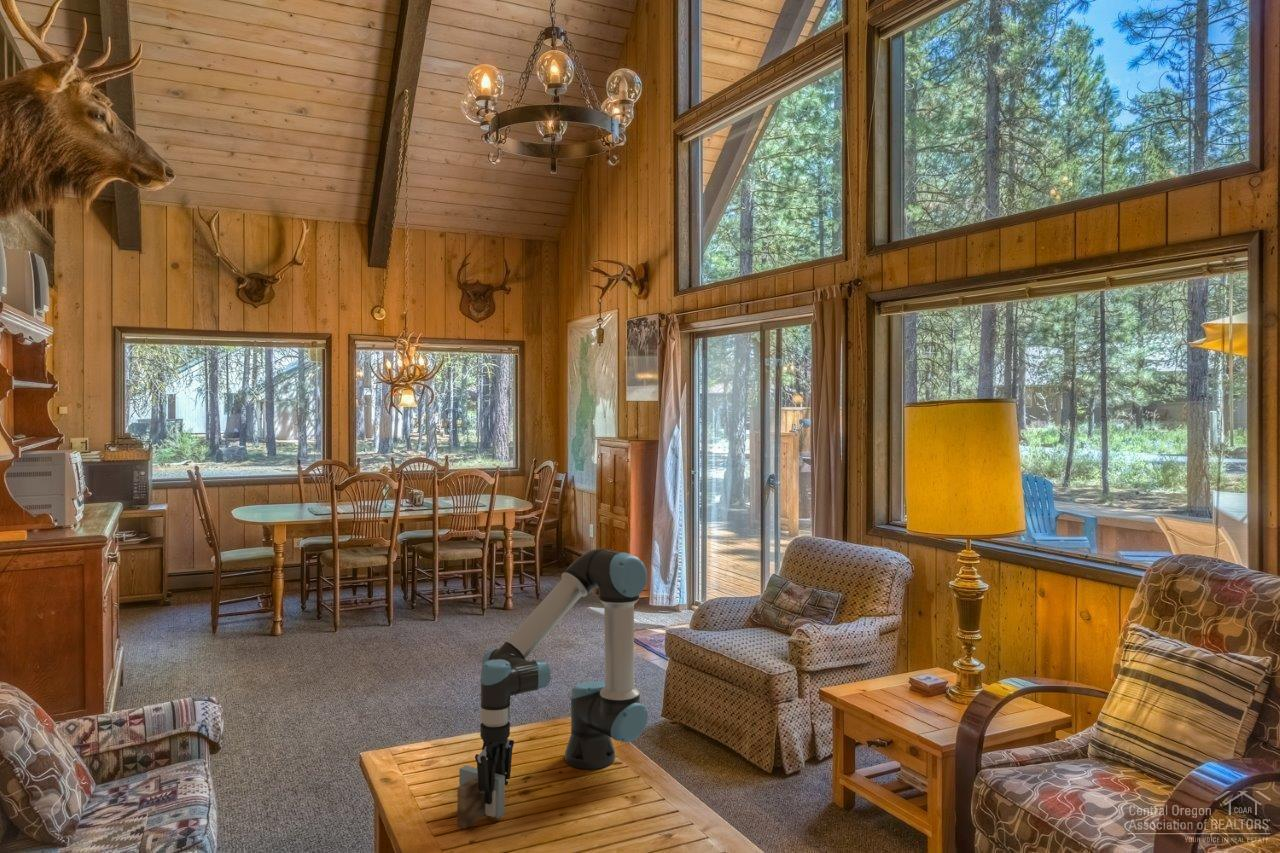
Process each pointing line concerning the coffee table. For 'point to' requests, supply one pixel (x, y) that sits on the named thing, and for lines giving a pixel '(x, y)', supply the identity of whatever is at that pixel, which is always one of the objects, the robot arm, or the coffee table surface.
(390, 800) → the coffee table surface
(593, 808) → the coffee table surface
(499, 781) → the cross plank
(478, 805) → the base plank
